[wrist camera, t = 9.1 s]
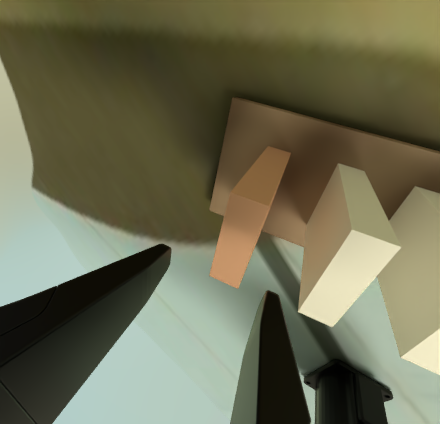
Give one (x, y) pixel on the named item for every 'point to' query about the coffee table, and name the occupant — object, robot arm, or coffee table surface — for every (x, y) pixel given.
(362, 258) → the ivory domino
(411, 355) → the ivory domino
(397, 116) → the coffee table surface
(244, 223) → the terracotta domino
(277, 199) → the walnut board
